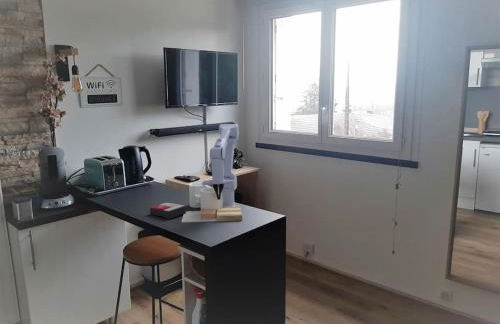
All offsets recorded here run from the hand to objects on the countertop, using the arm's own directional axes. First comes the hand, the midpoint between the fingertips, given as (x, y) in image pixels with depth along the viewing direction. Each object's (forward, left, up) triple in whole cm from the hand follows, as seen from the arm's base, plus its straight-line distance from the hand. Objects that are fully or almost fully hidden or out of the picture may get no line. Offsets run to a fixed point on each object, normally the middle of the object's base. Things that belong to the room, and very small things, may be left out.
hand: (218, 199), depth 195 cm
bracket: (-13, -8, -9) cm, 18 cm away
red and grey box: (-6, -26, -8) cm, 28 cm away
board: (0, +5, -9) cm, 10 cm away
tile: (+1, -5, -8) cm, 10 cm away
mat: (0, -9, -9) cm, 13 cm away
